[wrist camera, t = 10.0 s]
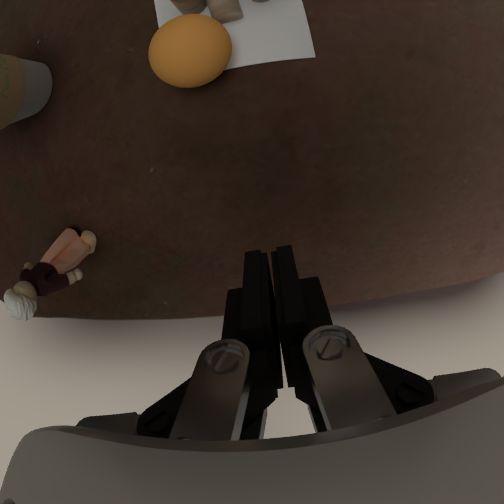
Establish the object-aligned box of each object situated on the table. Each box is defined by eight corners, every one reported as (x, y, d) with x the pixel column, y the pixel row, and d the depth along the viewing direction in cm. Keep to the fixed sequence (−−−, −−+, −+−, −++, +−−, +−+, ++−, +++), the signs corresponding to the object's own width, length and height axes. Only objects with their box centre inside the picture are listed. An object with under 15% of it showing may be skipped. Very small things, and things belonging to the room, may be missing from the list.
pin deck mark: (290, -35, 14) (290, -36, 13) (315, 57, 18) (315, 57, 18) (153, -8, 15) (152, -9, 15) (170, 83, 20) (170, 83, 19)
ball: (180, -8, 11) (217, 62, 13) (227, 7, 15) (258, 65, 18) (121, 43, 14) (150, 107, 16) (172, 43, 19) (198, 97, 21)
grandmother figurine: (98, 219, 26) (24, 293, 15) (109, 252, 27) (47, 334, 16) (49, 229, 26) (-20, 293, 15) (60, 258, 28) (0, 327, 17)
